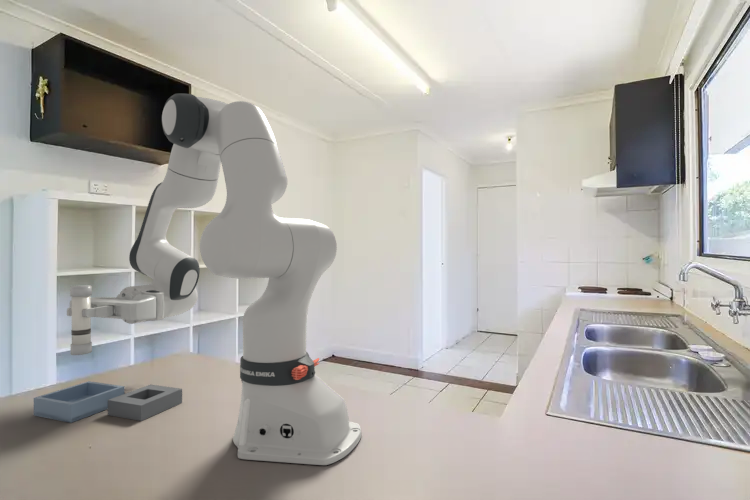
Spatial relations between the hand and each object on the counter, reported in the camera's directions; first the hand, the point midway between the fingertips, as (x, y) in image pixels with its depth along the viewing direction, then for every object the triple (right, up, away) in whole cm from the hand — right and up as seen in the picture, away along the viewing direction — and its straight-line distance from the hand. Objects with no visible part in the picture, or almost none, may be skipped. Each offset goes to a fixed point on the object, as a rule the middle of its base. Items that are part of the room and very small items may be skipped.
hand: (76, 312), depth 83 cm
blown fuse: (0, -9, +1) cm, 9 cm away
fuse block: (+14, -20, +1) cm, 25 cm away
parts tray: (0, -20, +1) cm, 20 cm away
